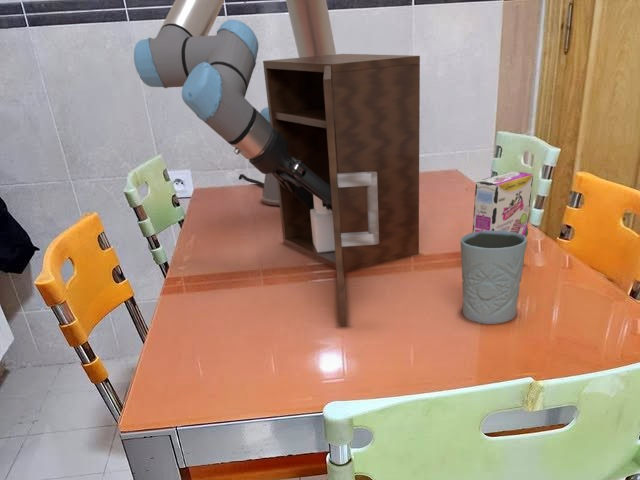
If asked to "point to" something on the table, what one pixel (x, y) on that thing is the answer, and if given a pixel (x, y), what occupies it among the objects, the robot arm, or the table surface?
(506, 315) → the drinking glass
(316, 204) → the medicine bottle
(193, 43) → the robot arm
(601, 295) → the table surface
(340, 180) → the cupboard door
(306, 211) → the cupboard
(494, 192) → the food carton
